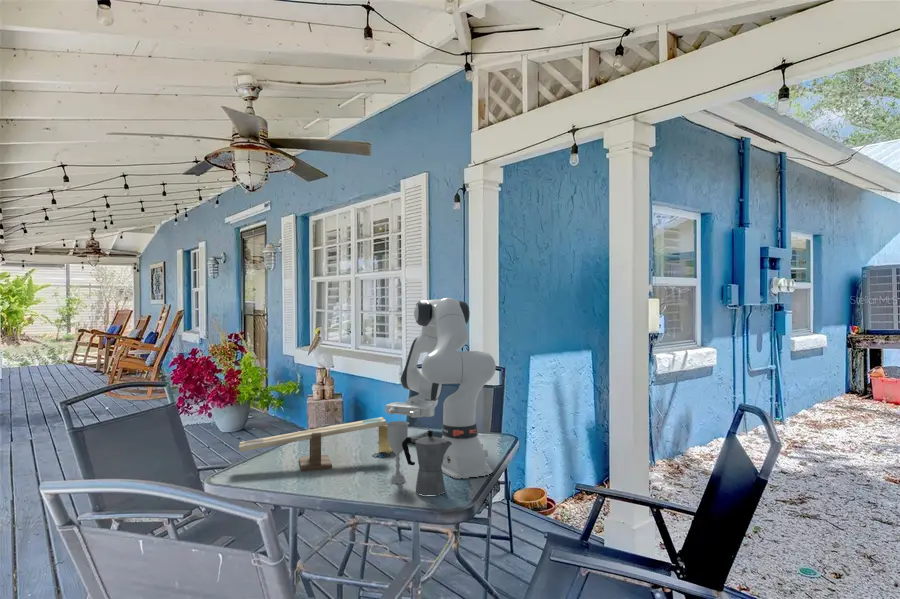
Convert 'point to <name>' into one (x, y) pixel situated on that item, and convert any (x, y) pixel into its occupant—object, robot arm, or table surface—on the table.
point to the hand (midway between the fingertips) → (401, 413)
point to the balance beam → (310, 434)
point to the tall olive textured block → (384, 440)
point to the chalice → (397, 445)
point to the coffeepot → (428, 462)
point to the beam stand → (315, 456)
